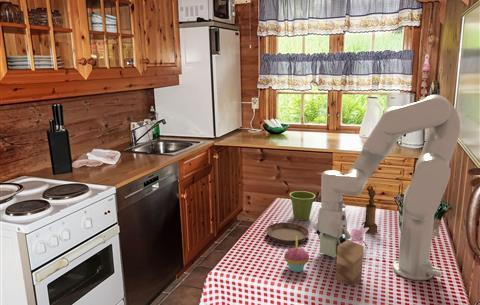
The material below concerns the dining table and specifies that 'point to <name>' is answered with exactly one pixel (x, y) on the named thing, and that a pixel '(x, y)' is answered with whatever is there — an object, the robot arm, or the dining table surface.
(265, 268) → the dining table surface
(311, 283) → the dining table surface
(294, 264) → the cupcake
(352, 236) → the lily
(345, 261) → the tower top
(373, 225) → the brown carved statuette
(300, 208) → the plant pot
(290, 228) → the plant saucer
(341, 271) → the tower base
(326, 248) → the sage block
